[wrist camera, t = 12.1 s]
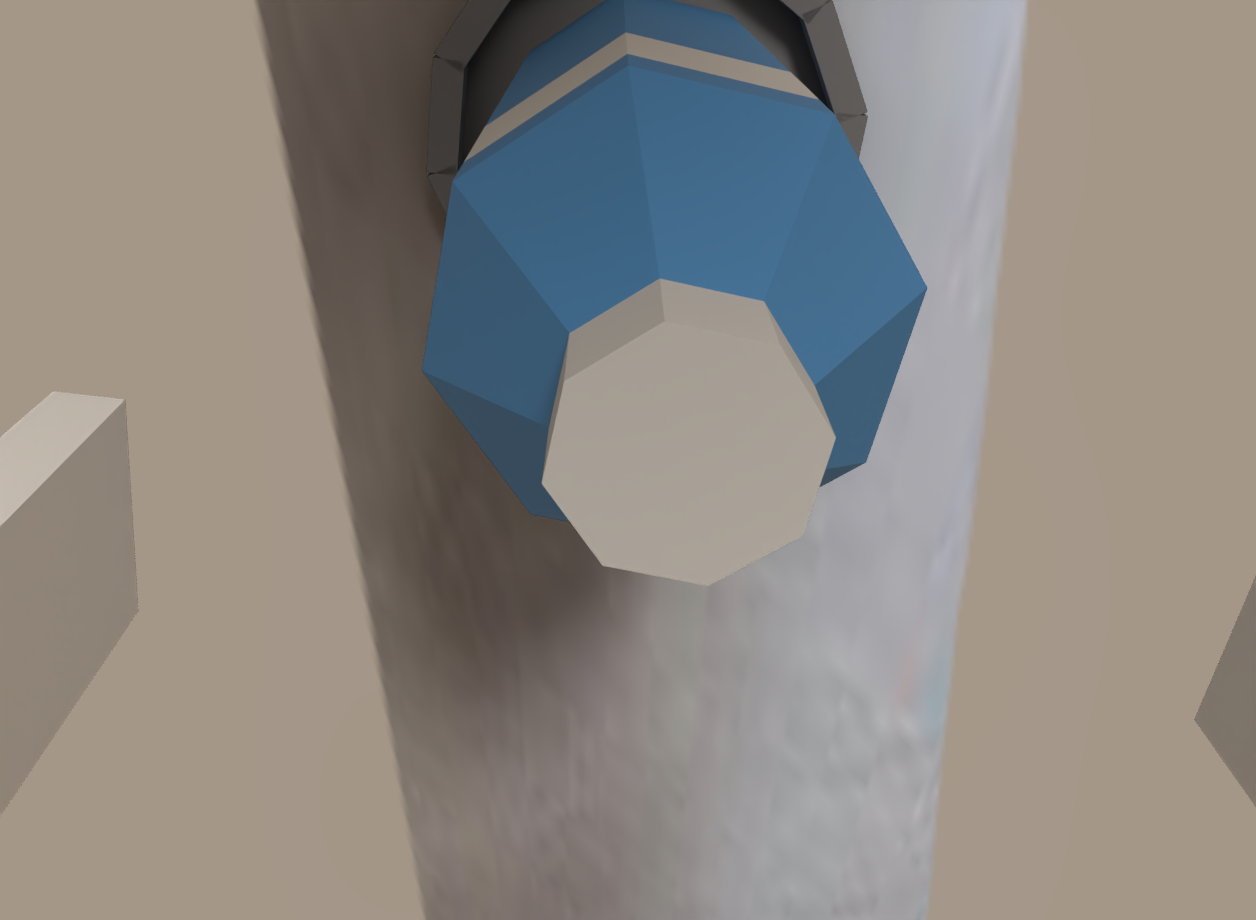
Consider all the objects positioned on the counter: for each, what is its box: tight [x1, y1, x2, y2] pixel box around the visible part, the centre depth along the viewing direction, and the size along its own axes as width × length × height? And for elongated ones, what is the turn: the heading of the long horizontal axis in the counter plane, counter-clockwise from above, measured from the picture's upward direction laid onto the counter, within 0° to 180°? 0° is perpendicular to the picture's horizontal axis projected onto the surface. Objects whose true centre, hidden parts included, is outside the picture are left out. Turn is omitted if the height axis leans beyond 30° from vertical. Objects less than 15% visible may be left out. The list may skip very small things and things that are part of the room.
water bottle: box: [422, 0, 927, 586], centre depth 27 cm, size 9×9×25 cm
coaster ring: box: [426, 0, 868, 216], centre depth 38 cm, size 14×14×2 cm
